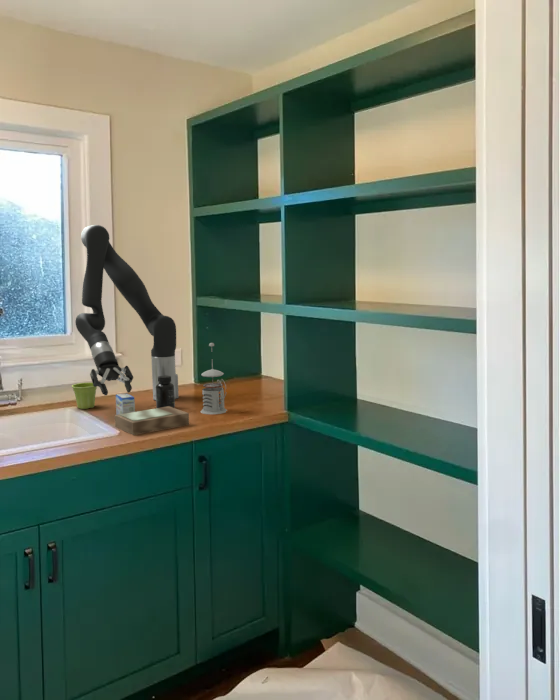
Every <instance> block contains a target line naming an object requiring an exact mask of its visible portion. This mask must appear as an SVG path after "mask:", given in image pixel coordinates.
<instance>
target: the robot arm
mask: <svg viewBox="0 0 560 700" xmlns="http://www.w3.org/2000/svg"><path fill="white" fill-rule="evenodd" d="M80 239H81V242H82V245H83V246H84V247H85V248H86V265H85V266H86V267H85V271H84V272H85V273H84V275H83V276H84V277H83V281H82V289H81V290H82V293H81V297H82V298H81V304H82V305H83V306H84V307H87V308H91V310H92V313H91V312H90V313H89V312H88V313H87V312H82V313H79V314H78V315H77V316H76V317H75V327H76V329H77V331H78V333H79V334H80V335H81V336H82V338H83V339H84V340H85V341H86V342H87V344H88V348H89V349H90V352H91V357H92V360H93V362H94V364H95V367H96V370H95V368H91V370H90V373H89V376H90V378H91V383H93V386H94V387H96V386H97V387H99V388H100V391H101V393H102V395H104V396H108V394H109V391H108V387H107V385H106V381H107V382H111V381H118V382H119V383H120V382H121V383H122V384H124V387H125V389H126V393H127V394H129V393H130V392H131V391H132V389H133V387H132V384H131V383H132V381H133V379H134V376H133V373H132V371H131V369H130V367H129V365H125V366H124V367H121V366H120V365H119V361H118V359H117V356H116V355H115V352H114V350H113V347H112V346H111V344H110V342H109V340H108V336H107V335H106V334H105V332H103V330H104V329H105V328H106V327H105V326H106V319H105V315H104V309H103V301H102V298H103V283H104V282H103V280H104V271H105V272H106V275H107V277H109V279H110V280H111V282H112V283H113V285H114V286H115V288H116V289H117V290H118V291H119V293H120V294H121V295H122V297H123V298H124V299H125V300H126V302H128V304H129V305H130V306H131V308H133V310H134V311H135V312H136V314H137V315H138V316H139V318H140V319H141V321H142V323H143V325H145V326H144V327H146V329H147V331H148V333H149V335H151V336H152V337H153V346H152V348H151V350H150V354H151V355H150V359H151V379H152V400H153V401H156V385H157V384H158V383H159V382H158V377H159V376H171V383H172V384H173V385H174V393H175V400H176V399H179V398H180V397H179V395H180V394H179V375H178V373H177V371H176V349H177V325H176V322H175V320H174V319H173V318H172V317H170V316H168V315H164V314H163V313H162V312H161V311H160V310H159V309H158V308H157V306H156V305H155V303H153V301H152V299H151V297H150V294H149V292H148V290H147V287H146V285H145V283H144V282H143V280H142V279H141V277H140V276H139V275H138V274H137V272H136V271H135V270H134V268H133V267H131V265H130V264H129V263H128V262H127V261H125V259H124V258H122V257H121V256H120V255H119V253H118V252H117V251H116V250H115V249H114V247H113V246H112V244H111V242H110V234H109V231H108V230H107V229H106V227H104V226H103V225H100V224H90V225H88V226H85V227H84V228H83V229H82V231H81V234H80ZM98 376H100V377H101V380H99V379H98Z"/></svg>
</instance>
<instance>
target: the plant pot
mask: <svg viewBox="0 0 560 700" xmlns="http://www.w3.org/2000/svg"><path fill="white" fill-rule="evenodd" d="M97 387H98V386H96V387H94V386H93V383H92V382H80V383H75V384H72V385H71V388H72V390H73V392H74V395H75V402H76V407H77V408H78V409H81V410H87V409H88V410H89V408H91V409H92V408H94V407H95V404H96V403H95V402H96V392H97Z"/></svg>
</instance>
